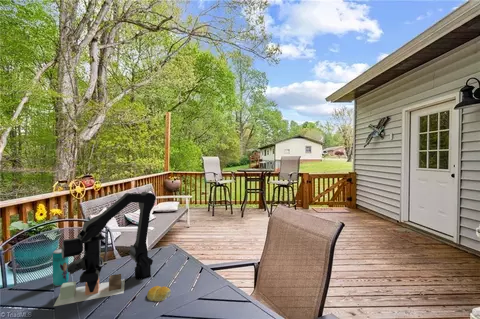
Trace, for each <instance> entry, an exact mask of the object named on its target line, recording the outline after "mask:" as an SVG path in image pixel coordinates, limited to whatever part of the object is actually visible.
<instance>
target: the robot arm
mask: <svg viewBox="0 0 480 319" xmlns="http://www.w3.org/2000/svg"><path fill="white" fill-rule="evenodd" d="M156 198H157V197H156V195H155V194H154V193H153V192H148V191H143V192H140V193H137V192H135V193H130V192H126V193H124V194H123V196H121V197H120V198H119V199H118V200H116V201H115V202H114V203H113V204H112V205H110V206H109V207H108V208H107V209H105V210H104V211H103V212H102V213H99V214H98V215H95V216H94V217H92V218H90V219H89V220H87V221H85V222H84V223H83V225H82V229H81V231H80V232H79V233H78V235H77V236H76V237H74V238H70V239H69V238H68V239H62V244H61V248H60V249H61V252H62V258H67V257H68V258H70V257H76V256H80V254H82V253H83V256H82V257H81V258H78V259H77V260H74V261H72V262H70V263H69V265H68V267H67V269H68V271H67V272H69V274H70V275H73V274H74V273H76V272H78V271H82V273H81V274H80V276H79V283H80V284H81V283H82V284H83V283H86V282H87V284H88V287H89V290H90V292H93V291H94V289H95V286H96V283H97V281H98V278H99V279H100V274H101V271H102V268H103V264H104V258H103V257H102V256H101V252H102V251H101V241H102V240H106V237H105V236H104V235H103V234H102V231H103V230H104V229H105V228H106V226H107V225H108V223H109V222H110V221H111V220H112V219H113V218H114V217H116V216H117V215H118V214H119V213H121V211H123V210H124V209H125V208H127V207H128V206H129V205H130V204H131V203H136V204H137V203H138V208H139V216H138V222H137V223H138V224H137V231H136V236H135V242H134V244H130V248H129V249H130V250H129V252H128V255H130V258H131V260H133V261H134V262H135V267H134V279H135V280H137V281H140V280H143V279H144V280H145V279H151V278H152V270H151V269H152V265H153V262H154V260H153V259H152V258H151V257H149V255H148V254H149V252H148V245H147V238H148V231H149V224H150V216H151V212H152V210H153V208H154V206H155V203H156V200H157V199H156Z"/></svg>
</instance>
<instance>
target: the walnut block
mask: <svg viewBox="0 0 480 319" xmlns="http://www.w3.org/2000/svg"><path fill="white" fill-rule="evenodd" d="M121 280H122V273H117V274H112V275H109V279H108V282H109V291H112V290H117V289H121Z"/></svg>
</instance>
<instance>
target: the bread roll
mask: <svg viewBox="0 0 480 319" xmlns="http://www.w3.org/2000/svg"><path fill="white" fill-rule="evenodd" d="M171 295H172V290H171V289H170V288H169V287H167V286H164V285H163V286H160V285H155V286H153V287H151V288H150V289H148V291H147V294H146V296H147V300H148V301H150V302H151V301H152V302H163V301H165V300H167V299H168V298H170V297H171Z"/></svg>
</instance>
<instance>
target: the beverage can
mask: <svg viewBox="0 0 480 319" xmlns="http://www.w3.org/2000/svg"><path fill="white" fill-rule="evenodd" d="M52 253H53V254H52V284H53V285H54V286H55V287H58V286H60V287H61V286H62V284H63V283H68V282H69V280H70V279H69V278H70V277H69V274H70V273H69V272H67V271H68V269H67V267H68V265H69V264H70V263H69V257H67V258H62V252H61V248H58V249H56V250H54V251H53V252H52Z"/></svg>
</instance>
